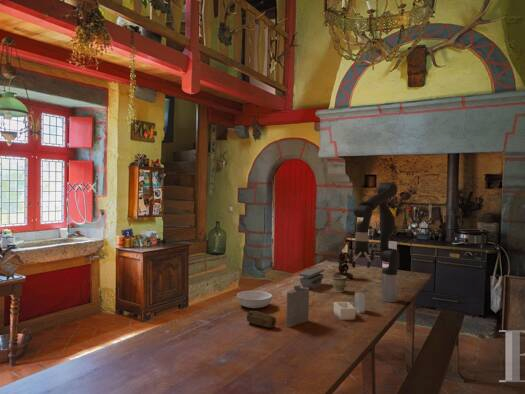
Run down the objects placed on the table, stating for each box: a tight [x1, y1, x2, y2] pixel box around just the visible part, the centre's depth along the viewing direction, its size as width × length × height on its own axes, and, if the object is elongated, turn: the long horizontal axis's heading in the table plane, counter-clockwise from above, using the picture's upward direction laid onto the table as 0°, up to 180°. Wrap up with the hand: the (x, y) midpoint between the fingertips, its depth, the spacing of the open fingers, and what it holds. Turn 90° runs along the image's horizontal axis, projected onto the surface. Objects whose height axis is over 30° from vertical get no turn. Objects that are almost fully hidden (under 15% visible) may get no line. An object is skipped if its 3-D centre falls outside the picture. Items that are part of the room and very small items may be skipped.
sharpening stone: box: [298, 267, 325, 290], centre depth 284 cm, size 25×8×11 cm, turn 149°
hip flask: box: [285, 284, 310, 328], centre depth 207 cm, size 16×4×20 cm, turn 134°
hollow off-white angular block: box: [332, 301, 357, 321], centre depth 221 cm, size 8×12×6 cm
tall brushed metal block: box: [353, 291, 366, 314], centre depth 230 cm, size 4×7×10 cm, turn 8°
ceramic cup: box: [331, 274, 352, 293], centre depth 272 cm, size 13×10×10 cm
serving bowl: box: [236, 290, 273, 309], centre depth 234 cm, size 21×21×7 cm
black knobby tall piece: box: [333, 251, 354, 279], centre depth 312 cm, size 15×15×20 cm
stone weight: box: [246, 310, 277, 329], centre depth 202 cm, size 15×7×7 cm, turn 63°
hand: (360, 267), depth 229 cm, fingers open, 8 cm apart
